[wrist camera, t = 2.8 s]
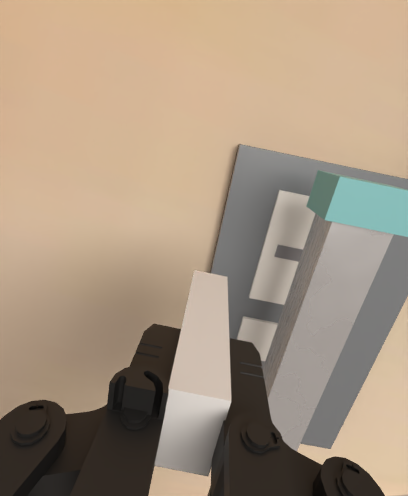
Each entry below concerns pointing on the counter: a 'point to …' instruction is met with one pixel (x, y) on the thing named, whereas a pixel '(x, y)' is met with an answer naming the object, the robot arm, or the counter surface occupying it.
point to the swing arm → (328, 292)
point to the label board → (284, 267)
